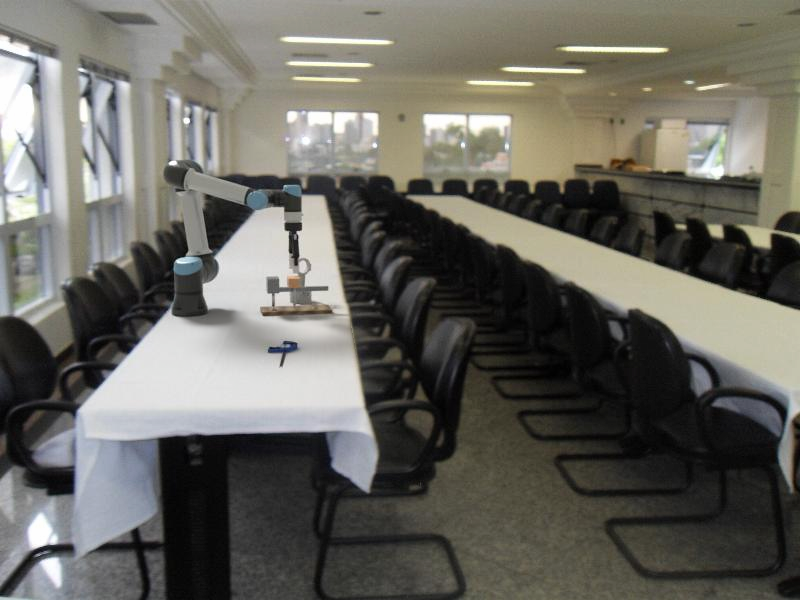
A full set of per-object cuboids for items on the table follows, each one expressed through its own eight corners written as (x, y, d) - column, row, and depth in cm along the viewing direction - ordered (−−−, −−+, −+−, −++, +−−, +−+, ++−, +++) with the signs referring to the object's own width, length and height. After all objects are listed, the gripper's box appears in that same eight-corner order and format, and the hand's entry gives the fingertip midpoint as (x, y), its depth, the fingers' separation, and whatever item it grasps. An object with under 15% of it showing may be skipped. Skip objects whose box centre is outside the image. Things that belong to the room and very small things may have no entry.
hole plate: (262, 315, 339) (262, 311, 338) (260, 310, 350) (260, 306, 350) (332, 313, 346) (332, 309, 345) (328, 307, 357) (328, 304, 357)
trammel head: (288, 308, 343) (288, 278, 341) (287, 305, 350) (286, 276, 348) (300, 308, 344) (300, 278, 342) (298, 305, 351) (298, 275, 349)
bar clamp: (269, 340, 287) (297, 340, 288) (270, 346, 288) (297, 346, 288) (261, 367, 256) (292, 367, 257) (261, 375, 256) (293, 374, 257)
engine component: (285, 301, 371) (297, 304, 364) (285, 257, 368) (296, 260, 360) (305, 298, 378) (317, 301, 371) (305, 255, 374) (317, 258, 367)
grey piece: (267, 310, 341) (267, 279, 339) (266, 307, 348) (266, 276, 345) (329, 308, 348) (329, 277, 345) (326, 305, 354) (326, 275, 352)
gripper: (305, 224, 329) (306, 274, 333) (298, 219, 353) (299, 266, 357) (287, 224, 327) (288, 275, 331) (281, 219, 351) (282, 267, 355)
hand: (294, 270), depth 344 cm, fingers open, 13 cm apart
